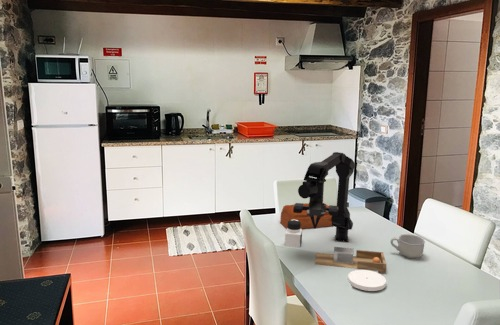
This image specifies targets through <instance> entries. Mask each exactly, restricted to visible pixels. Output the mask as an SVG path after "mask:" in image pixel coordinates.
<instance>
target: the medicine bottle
mask: <svg viewBox="0 0 500 325" xmlns="http://www.w3.org/2000/svg"><path fill="white" fill-rule="evenodd" d="M300 228H301V222H300V221H298V220H289V221H288V222H287V229H286V230H285V234H284V246H285V247H293V248H294V247H295V248H301V247H302V239H303V229H300Z"/></svg>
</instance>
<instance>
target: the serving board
mask: <svg viewBox="0 0 500 325" xmlns="http://www.w3.org/2000/svg"><path fill="white" fill-rule="evenodd" d="M355 252H356V253H355V255H353V264H342V263H333V262H334V253H324V252H316V253H315V262H314V265H315V266H326V267H335V268H346V269H355V270H369V271H374V272H377V273H379V274H381V275H383V274H385V275H386V274H387V273H386V272H387V262H386V258H385V254H384V252H383V251H373V250H371V251H369V250H361V249H356V250H355ZM374 257H378V258H379V259H380V263H376V262H373V258H374Z"/></svg>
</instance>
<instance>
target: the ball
mask: <svg viewBox="0 0 500 325" xmlns="http://www.w3.org/2000/svg"><path fill="white" fill-rule="evenodd" d="M373 262H376V263H380V259H379V258H378V257H374V258H373Z"/></svg>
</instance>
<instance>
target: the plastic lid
mask: <svg viewBox="0 0 500 325" xmlns="http://www.w3.org/2000/svg"><path fill="white" fill-rule="evenodd" d="M347 280H348V283H349V284H350V285H351V286H352V287H353V288H356V289H358V290H362V291H366V292H375V291H377V292H378V291H381V290H384V289H385V288H386V285H387V279H386V277H385V276H384V275H383V274H382V273H378V271H375V270H364V269H355V270H351V271H350V272H348V274H347Z"/></svg>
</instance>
